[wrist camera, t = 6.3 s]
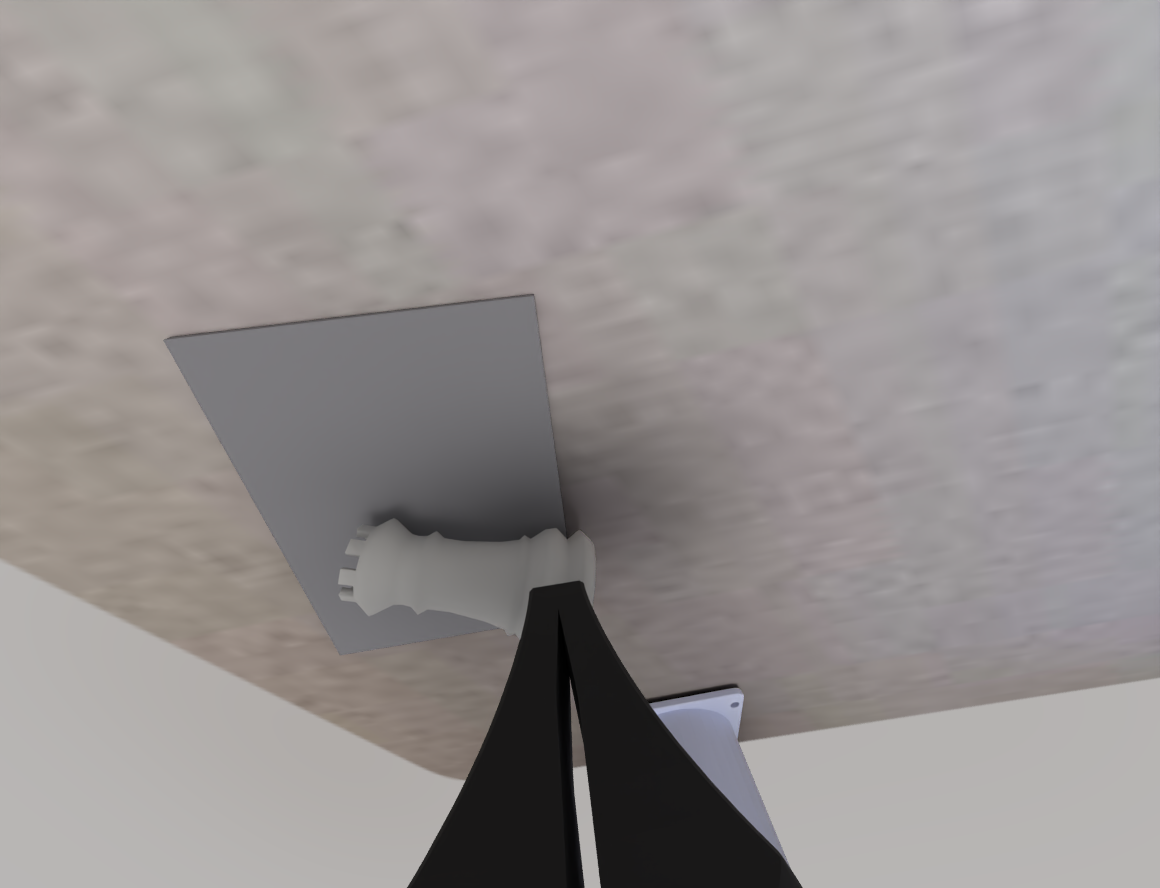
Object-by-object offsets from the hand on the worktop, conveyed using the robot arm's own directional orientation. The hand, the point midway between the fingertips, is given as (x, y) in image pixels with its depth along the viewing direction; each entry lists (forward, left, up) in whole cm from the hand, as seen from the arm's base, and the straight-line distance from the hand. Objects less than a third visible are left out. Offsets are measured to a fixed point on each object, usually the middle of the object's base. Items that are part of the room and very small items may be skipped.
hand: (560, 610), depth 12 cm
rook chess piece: (-3, -1, -3) cm, 5 cm away
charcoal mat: (0, +5, -6) cm, 8 cm away
